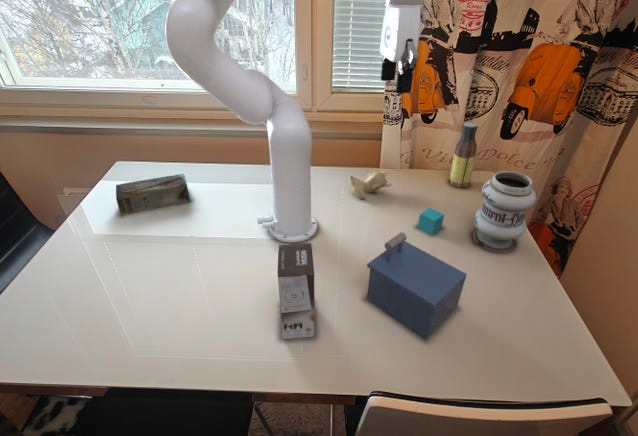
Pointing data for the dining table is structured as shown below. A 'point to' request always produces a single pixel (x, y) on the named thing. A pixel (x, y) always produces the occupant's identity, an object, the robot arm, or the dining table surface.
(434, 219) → the block
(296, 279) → the coffee box
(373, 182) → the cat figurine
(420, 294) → the lid
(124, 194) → the beverage carton
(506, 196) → the apothecary jar
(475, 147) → the sauce bottle
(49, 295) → the dining table surface
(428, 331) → the compartment
